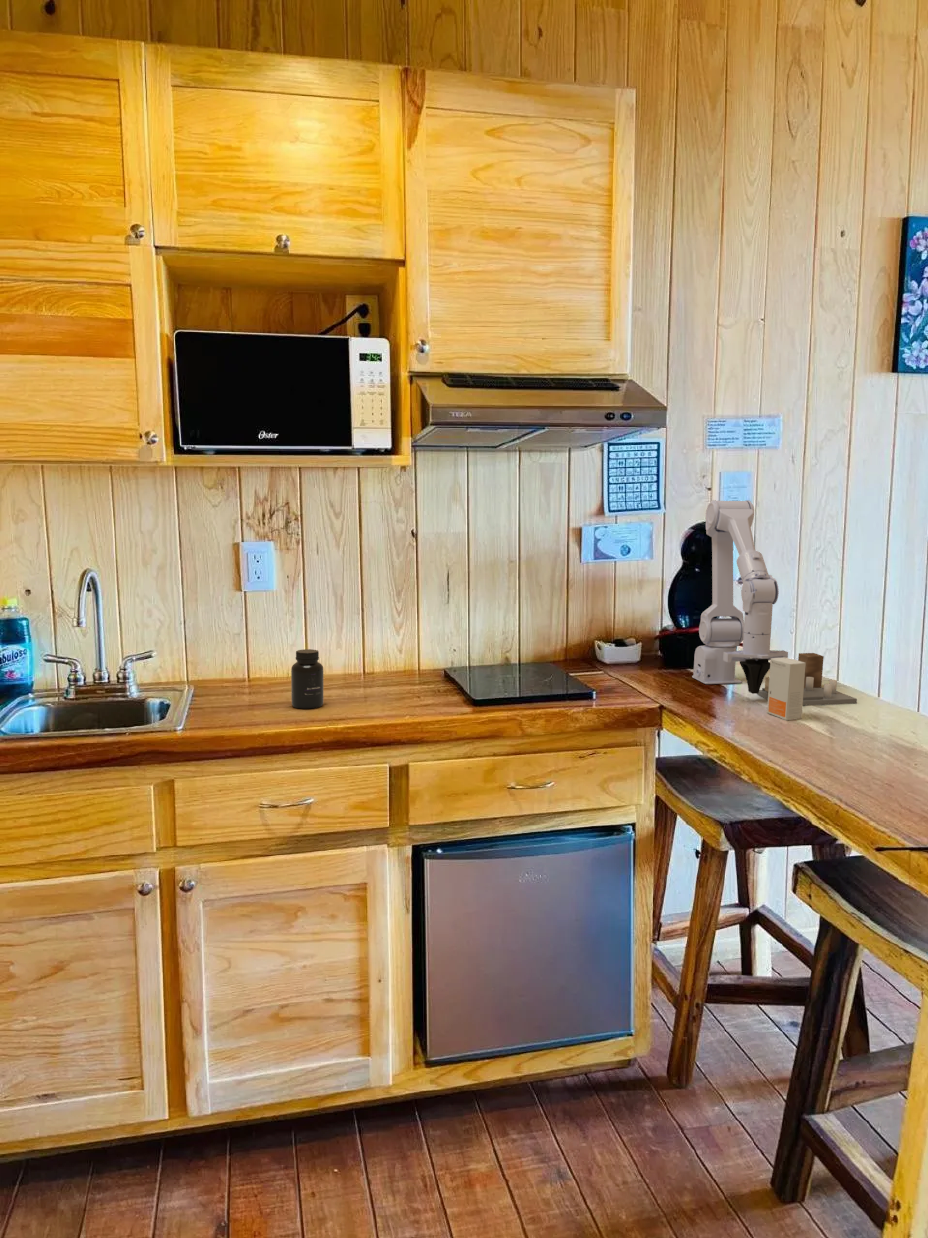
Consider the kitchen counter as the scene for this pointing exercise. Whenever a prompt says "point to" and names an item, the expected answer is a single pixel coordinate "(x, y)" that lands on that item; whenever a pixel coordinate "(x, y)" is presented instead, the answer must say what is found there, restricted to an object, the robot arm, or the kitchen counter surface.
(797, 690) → the skincare box
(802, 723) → the kitchen counter surface
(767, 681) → the jaw plate
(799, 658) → the walnut block
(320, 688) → the supplement bottle
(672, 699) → the kitchen counter surface
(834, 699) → the dock
